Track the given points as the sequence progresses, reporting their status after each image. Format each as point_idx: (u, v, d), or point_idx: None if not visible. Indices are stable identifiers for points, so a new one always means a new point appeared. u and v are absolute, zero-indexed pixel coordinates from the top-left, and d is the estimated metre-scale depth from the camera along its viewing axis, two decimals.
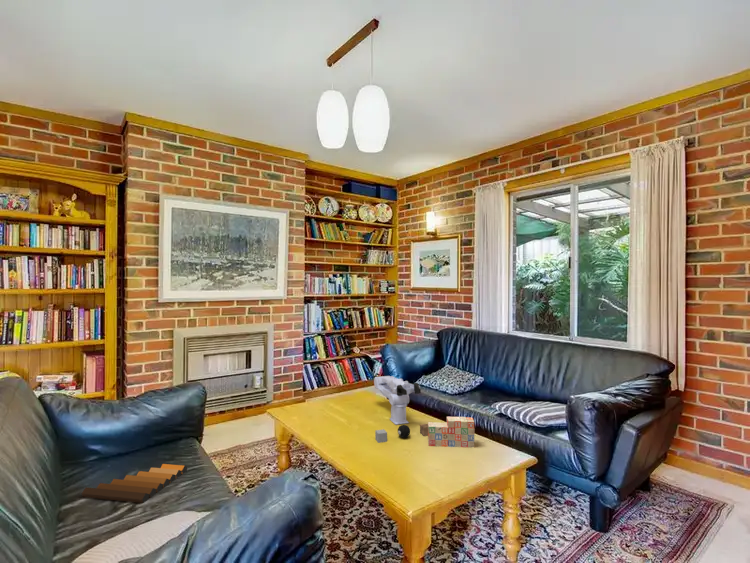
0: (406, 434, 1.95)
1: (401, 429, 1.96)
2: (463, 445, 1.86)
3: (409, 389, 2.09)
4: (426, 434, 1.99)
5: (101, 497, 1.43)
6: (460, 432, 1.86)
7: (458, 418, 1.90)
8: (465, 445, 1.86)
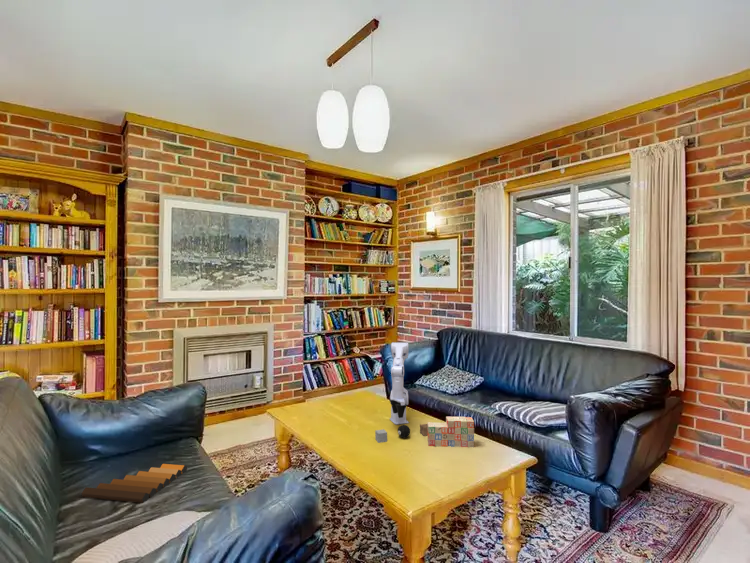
0: (406, 434, 1.95)
1: (401, 429, 1.96)
2: (463, 445, 1.86)
3: None
4: (426, 434, 1.99)
5: (101, 497, 1.43)
6: (459, 432, 1.86)
7: (458, 418, 1.90)
8: (465, 445, 1.86)
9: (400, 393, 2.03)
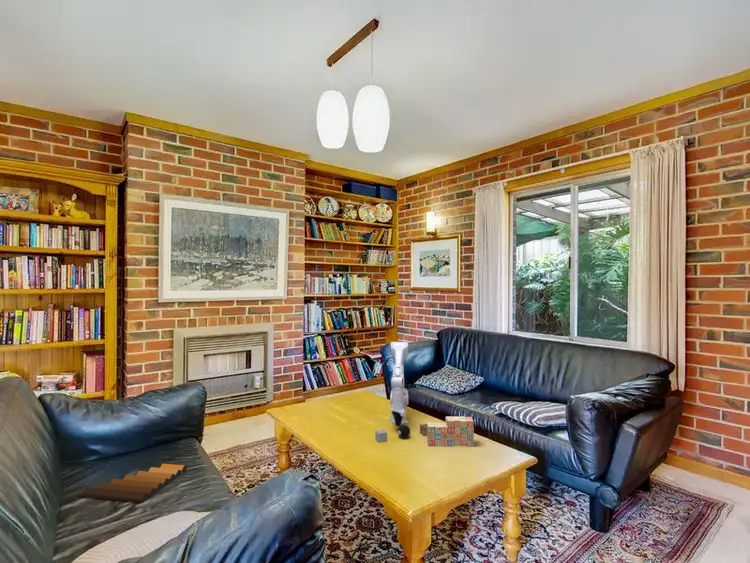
0: (406, 434, 1.95)
1: (401, 429, 1.96)
2: (462, 445, 1.86)
3: None
4: (426, 434, 1.99)
5: (101, 497, 1.43)
6: (459, 432, 1.86)
7: (457, 418, 1.90)
8: (464, 444, 1.86)
9: (400, 404, 2.03)
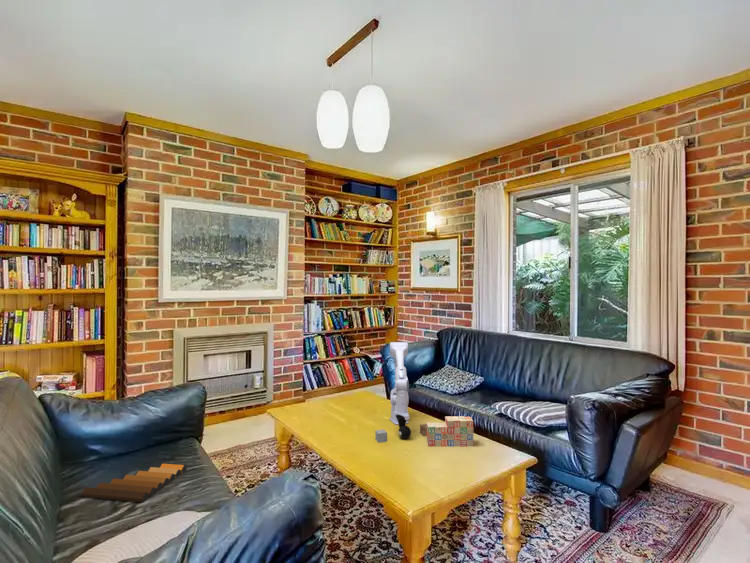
0: (407, 435, 1.94)
1: (402, 430, 1.95)
2: (462, 444, 1.86)
3: (403, 415, 1.99)
4: (426, 434, 1.99)
5: (101, 496, 1.44)
6: (459, 431, 1.86)
7: (457, 418, 1.90)
8: (464, 444, 1.86)
9: (404, 407, 1.98)
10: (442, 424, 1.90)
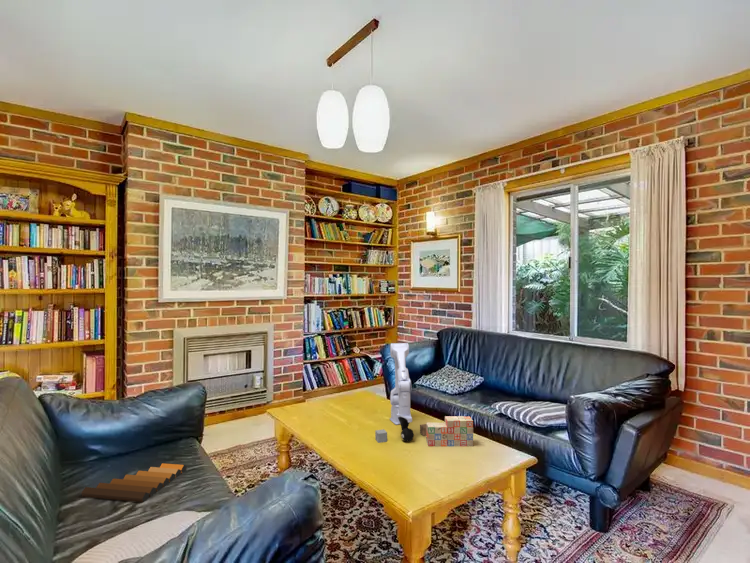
0: (409, 438, 1.91)
1: (404, 432, 1.91)
2: (462, 444, 1.87)
3: None
4: None
5: (101, 496, 1.44)
6: (459, 431, 1.87)
7: (456, 417, 1.90)
8: (464, 444, 1.87)
9: (407, 409, 1.94)
10: (442, 424, 1.90)
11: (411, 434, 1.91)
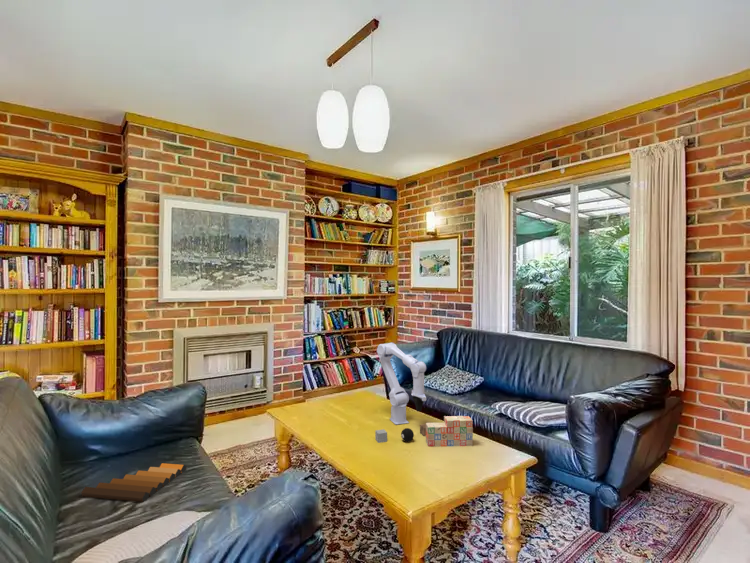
0: (409, 438, 1.91)
1: (404, 432, 1.91)
2: (462, 444, 1.87)
3: None
4: None
5: (101, 496, 1.44)
6: (458, 431, 1.87)
7: (456, 417, 1.91)
8: (464, 444, 1.87)
9: (421, 389, 2.07)
10: (441, 424, 1.90)
11: (411, 434, 1.91)
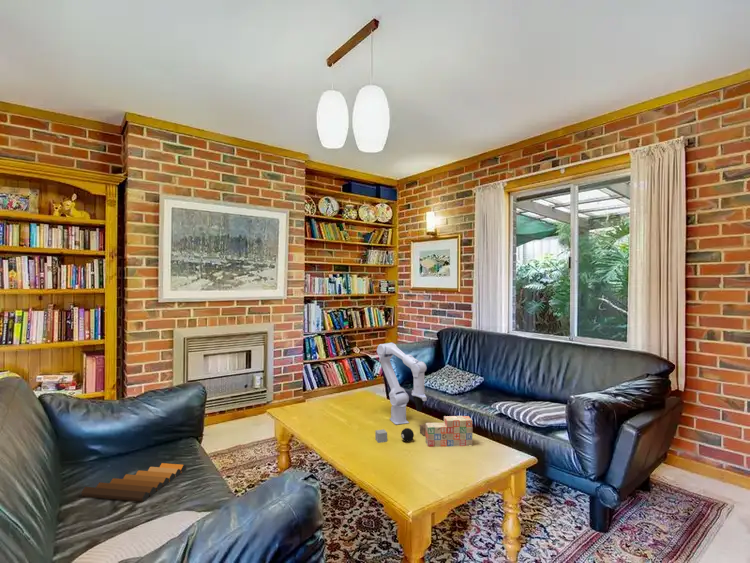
0: (409, 438, 1.91)
1: (404, 432, 1.91)
2: (461, 444, 1.87)
3: (420, 397, 2.08)
4: None
5: (101, 496, 1.44)
6: (458, 431, 1.87)
7: (455, 417, 1.91)
8: (463, 444, 1.87)
9: (421, 389, 2.07)
10: (441, 424, 1.90)
11: (411, 434, 1.91)
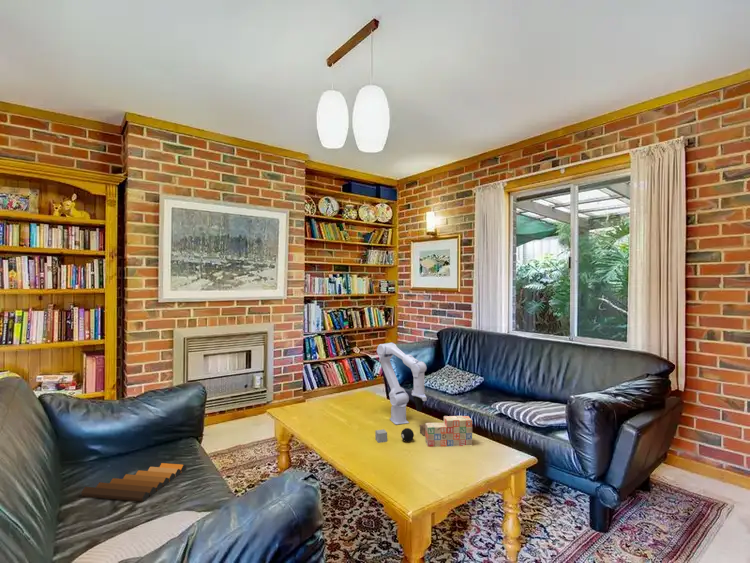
0: (409, 438, 1.91)
1: (404, 432, 1.91)
2: (461, 444, 1.87)
3: (420, 397, 2.08)
4: None
5: (101, 496, 1.44)
6: (458, 431, 1.87)
7: (455, 417, 1.91)
8: (463, 444, 1.87)
9: (421, 389, 2.07)
10: (441, 424, 1.90)
11: (411, 434, 1.91)
